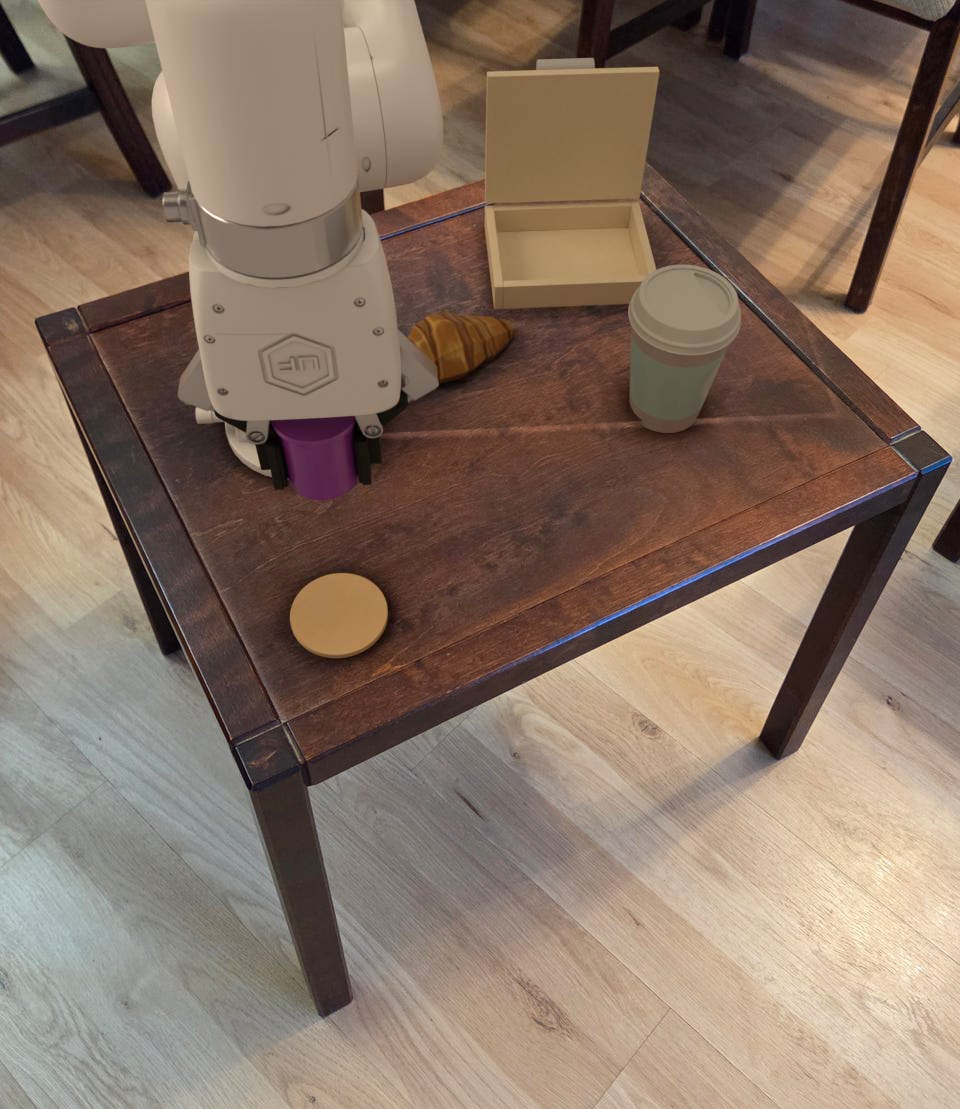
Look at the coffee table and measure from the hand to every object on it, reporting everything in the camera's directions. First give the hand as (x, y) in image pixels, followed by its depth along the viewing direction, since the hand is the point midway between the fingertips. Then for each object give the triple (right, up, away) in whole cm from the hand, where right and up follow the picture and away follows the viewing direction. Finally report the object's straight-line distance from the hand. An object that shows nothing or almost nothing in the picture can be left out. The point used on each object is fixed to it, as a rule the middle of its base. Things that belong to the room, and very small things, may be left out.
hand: (323, 467), depth 64 cm
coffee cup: (+25, +7, +25) cm, 36 cm away
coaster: (-1, -10, +12) cm, 16 cm away
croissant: (+6, +11, +28) cm, 30 cm away
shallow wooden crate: (+18, +21, +35) cm, 45 cm away
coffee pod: (0, 0, 0) cm, 0 cm away
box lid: (+17, +32, +30) cm, 47 cm away
